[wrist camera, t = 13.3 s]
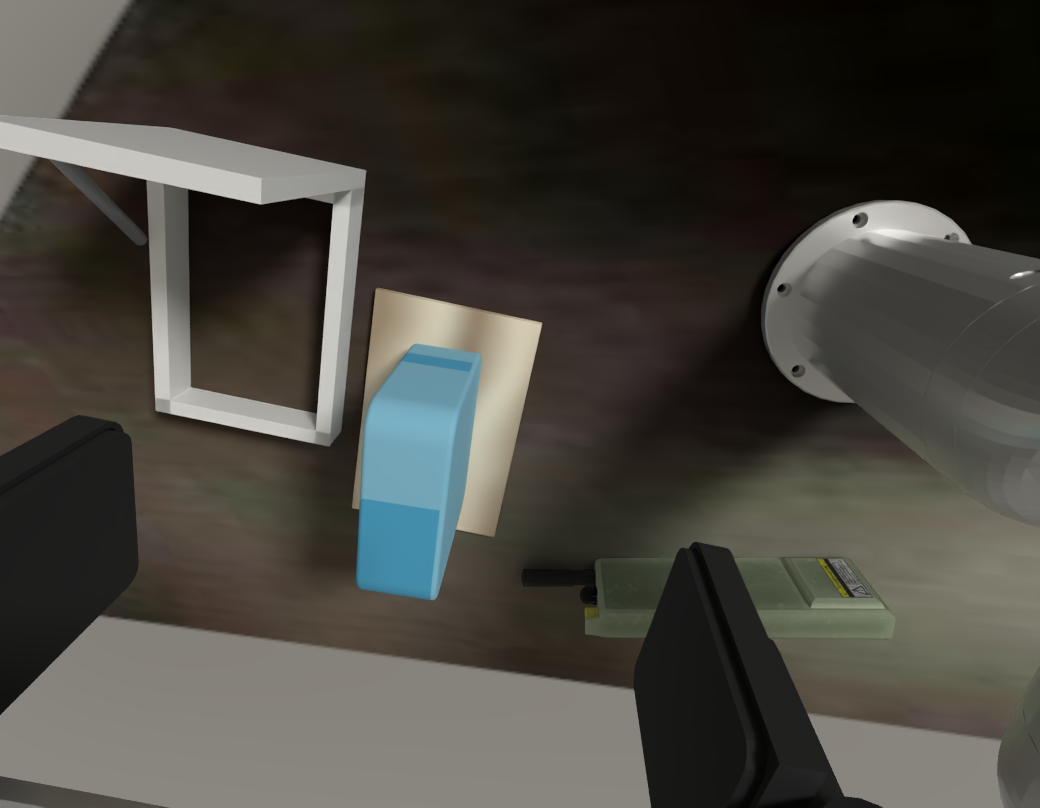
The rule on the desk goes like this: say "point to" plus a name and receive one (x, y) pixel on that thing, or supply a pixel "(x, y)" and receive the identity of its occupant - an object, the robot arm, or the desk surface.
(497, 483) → the birch board
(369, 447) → the data package
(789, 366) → the robot arm
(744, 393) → the desk surface
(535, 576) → the handheld radio
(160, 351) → the stand
